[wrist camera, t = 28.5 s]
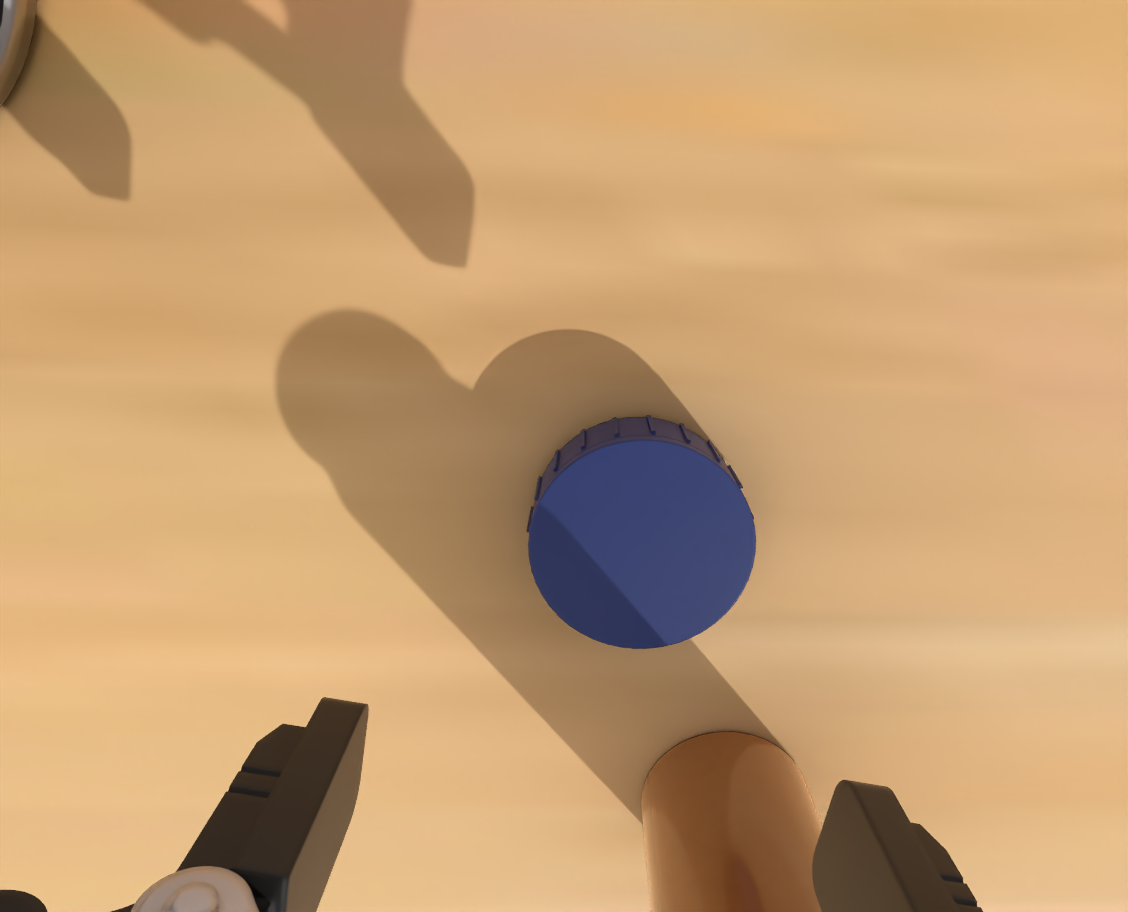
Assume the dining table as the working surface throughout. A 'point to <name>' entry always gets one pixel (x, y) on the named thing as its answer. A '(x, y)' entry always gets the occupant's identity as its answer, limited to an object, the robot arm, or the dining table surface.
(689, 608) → the lid
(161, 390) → the dining table surface
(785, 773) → the jar
